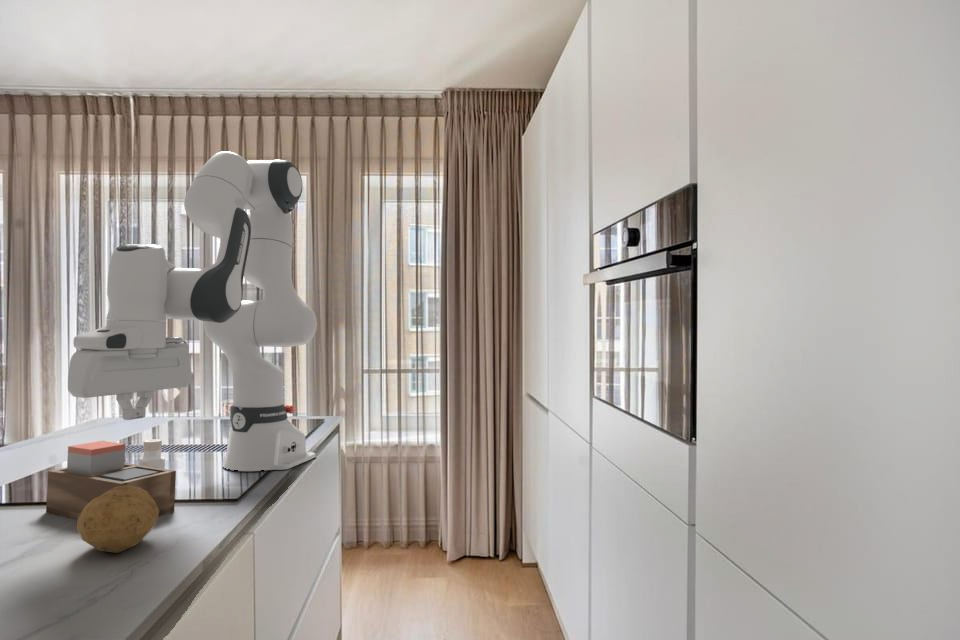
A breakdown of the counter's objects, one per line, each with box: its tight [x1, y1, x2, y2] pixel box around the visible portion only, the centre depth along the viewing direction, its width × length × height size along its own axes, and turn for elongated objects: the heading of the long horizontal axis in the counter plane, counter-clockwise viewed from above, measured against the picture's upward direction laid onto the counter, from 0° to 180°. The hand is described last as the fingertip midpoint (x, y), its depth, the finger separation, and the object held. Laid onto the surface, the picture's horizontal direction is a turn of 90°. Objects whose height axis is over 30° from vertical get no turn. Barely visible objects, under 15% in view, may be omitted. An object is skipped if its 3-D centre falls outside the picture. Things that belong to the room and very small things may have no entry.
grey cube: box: [100, 468, 158, 482], centre depth 97 cm, size 6×6×6 cm
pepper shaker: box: [138, 438, 166, 469], centre depth 113 cm, size 4×4×10 cm
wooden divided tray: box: [45, 462, 177, 520], centre depth 98 cm, size 10×18×7 cm, turn 68°
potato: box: [76, 485, 159, 554], centre depth 82 cm, size 10×14×8 cm
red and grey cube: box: [66, 440, 126, 475], centre depth 100 cm, size 6×6×6 cm
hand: (134, 418), depth 98 cm, fingers closed
